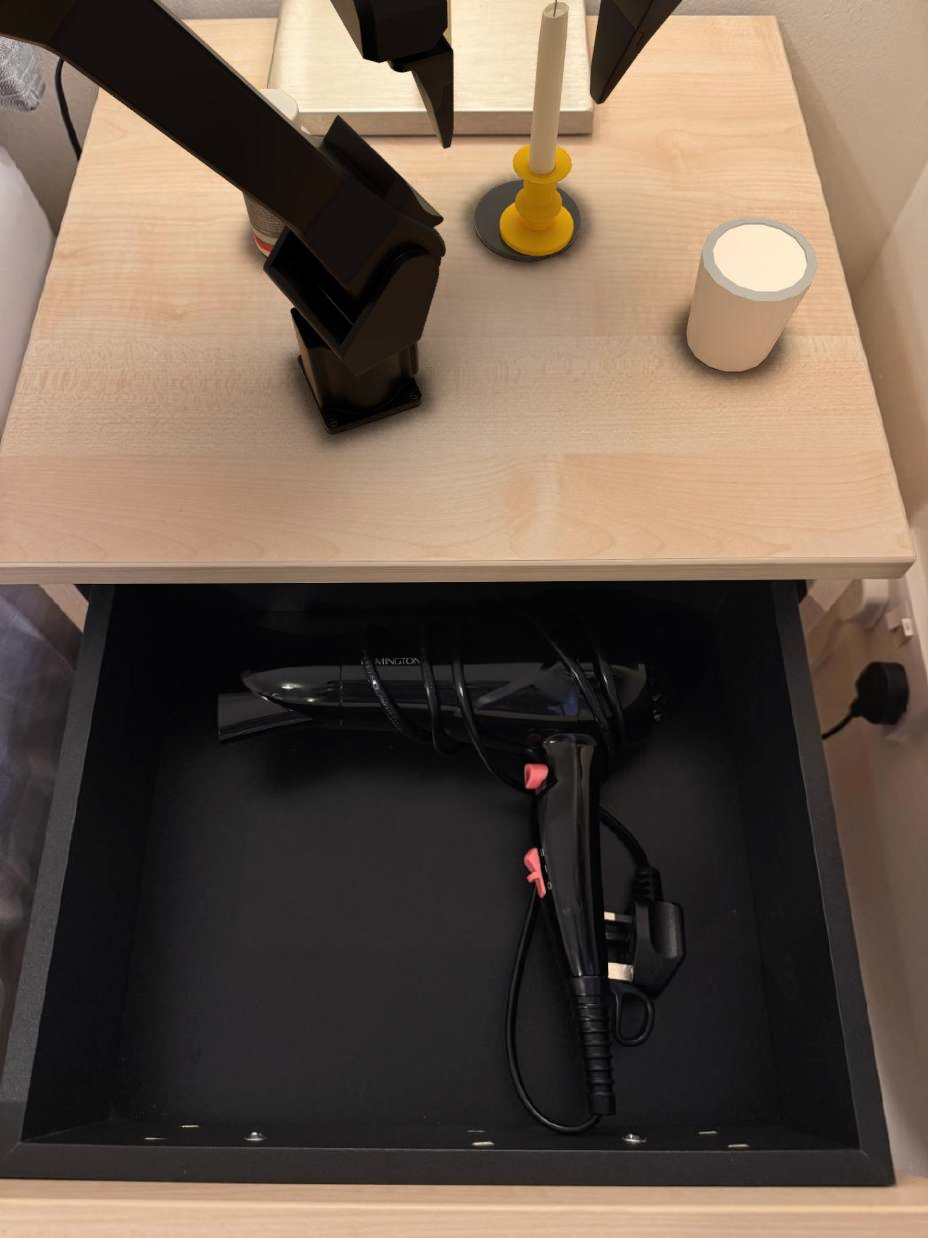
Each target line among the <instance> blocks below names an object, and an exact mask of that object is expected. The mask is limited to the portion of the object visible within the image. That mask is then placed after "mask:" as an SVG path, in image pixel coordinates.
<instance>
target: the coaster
mask: <svg viewBox="0 0 928 1238" xmlns="http://www.w3.org/2000/svg"><path fill="white" fill-rule="evenodd" d="M523 183H524V180H523V179H517V180H512V181H507V182H504V183H501V184H499V185H497V186H495V187H492V188H491V189H490V190H488V191H487V192H486V193H484V195H483V196H482V197H481V198H480V199H479V201H478V203H477V205H476V207H475V209H474V218H473V219H474V220H473V222H474V223H473V224H474V229H475V232H476V234H477V236H478V238H479V239H480V241H481V242H482V243H483V244H484V245H485V247H487V248H488V249H490V250H491V251H492V252H494V253H495V254H498V255H500V256H502V257H505V258H508V259H511V260H516V261H524V262H525V261H527V262H530V261H531V262H532V261H540V260H545V259H549V258H553V257H554V256H557V255H559V254H562V253H563V252H564V251H566V250H567V249H568V248H569V247H570V246H571V245H572V244H573V243H574V242H575V240H576V239H577V237H578V235H579V232H580V229H581V213H580V209H579V207H578V205H577V203H576V201H575V200H574V199H573V197H571V196H570V194H569V193H567V192H566V191H565V190H563V189H561V188H560V187H558V186H557V188H556V191H557V192H558V193H559V194H560V196H561V198H562V206H563V207H564V208H565V209H566V210H567V211H568V212H569V213H570V215H571V217H572V219H573V227H574V228H573V233H572V237H571V239H570V241H569V242H568V244H567V245H566V246H565V247H563V248H562V249H561V250H559V251H557V252H555V253H552V254H549V255H544V256H531V255H526V254H522V253H520V252H517V251H515V250H514V249H512V248H511V247H509V246H508V245H507V244H506V243H505V241H504V240H503V239H502V236H501V234H500V219H501V216H502V213H503V212H504V211H505V210H506V208H507V207H509V206H510V205H511V204H513V203H515V199H516V196H517V194H518V193H519V191H520V190H522V189H523V188H524V185H523Z"/></svg>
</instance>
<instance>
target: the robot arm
mask: <svg viewBox="0 0 928 1238" xmlns="http://www.w3.org/2000/svg"><path fill="white" fill-rule="evenodd" d="M329 1H330V3H331V5H332V7H333V8H334V10H335V12H336V14H337V16H338V17H339V19H340V20H341V23H342V24H343V26H344V28H345V30H346V31H347V33H348V35H349V36H350V38H351V40H352V42H353V44H354V45H355V47H356V49H357V51H358V53H359V54H360V56H361V58H362V60H365V61H369V62H372V63H376V64H382V63H385V62H386V63H387V65H388V66H389V69H391V70H392V71H394V72H396V73H400V74H404V73H405V74H406V73H408V72H410V73H411V76H412V78H413V79H414V83H415V85H416V87H417V91H418V93H419V95H420V99H421V100H422V103H423V105H424V107H425V110H426V113H427V115H428V118H429V120H430V123H431V125H432V128H433V130H434V133H435V135H436V138H437V140H438V142H439V144H440V145H441V147H442V148H443V149H444V150H445V149H449V148H451V147H452V142H453V136H454V130H455V97H454V96H455V95H454V94H455V82H454V81H455V78H454V77H455V55H454V54H455V51H454V49H453V47H452V45H451V44H450V42H449V41H448V40H447V38H446V37H445V34H444V33H445V32H446V31H447V29H448V27H449V16H448V15H449V12H448V7H449V6H448V0H329ZM682 2H683V0H600V2H599V3H600V4H599V10H598V16H597V23H596V30H595V36H594V42H593V49H592V56H591V62H590V76H589V95H590V97H591V98H592V100H593V102H594V103H595V104H596V105H602V104H604V103H605V102H606V101H607V100H608V98H609V97H610V95H611V94H612V92H613V91H614V89H615V88H616V87H617V85H618V84H619V82H620V81H622V78H623V77H624V76H625V74H626V73H627V71H628V70H629V68H630V67H631V66H632V65H633V63H634V62H635V60H636V59H637V57H638V56H639V55H640V53H641V52H642V51H643V50H644V48H645V46H647V44H648V43H649V41H650V40H651V39H652V38H653V36H655V34H656V33H657V32H658V31H659V30H660V28H661V27H662V26H663V24H665V22H666V21H667V20H668V18H670V16H671V15H672V14H673V13H674V11H675V10H676V9H677V7H679V5H680V4H681V3H682ZM0 37H1V38H4V39H9V40H12V41H15V42H21V43H23V44H28V45H32V46H36V47H38V48H41V49H44V50H46V51H47V52H49V53H51V54H53V55H55V56H56V57H58V58H60V59H61V60H63V62H65V63H66V64H68V65H69V66H71V68H73V69H75V70H76V71H77V72H79V73H80V74H81V75H83V76H84V77H86V78H87V79H88V80H90V81H91V82H92V83H94V84H95V85H97V86H98V87H99V88H100V89H101V90H103V91H105V92H106V93H107V94H109V95H110V96H111V97H113V98H114V99H115V100H116V101H118V102H120V103H121V104H122V105H124V106H125V107H126V108H128V110H130V111H132V112H133V113H135V114H136V115H137V116H138V117H139V118H141V119H142V120H144V121H145V122H147V123H148V124H149V125H151V126H152V127H153V128H154V129H156V130H158V131H159V132H160V133H161V134H163V135H164V136H165V137H167V138H168V139H170V140H171V141H172V142H173V143H175V144H176V145H178V146H179V147H181V148H182V149H183V150H184V151H186V152H188V154H189V155H192V156H193V157H194V158H195V159H197V160H198V161H199V162H201V163H202V164H203V165H205V166H206V167H208V168H209V169H211V171H213V172H215V173H216V174H217V175H219V177H221V178H222V179H223V180H225V181H227V182H228V183H229V184H231V185H232V186H233V187H235V188H236V189H237V190H238V191H240V192H241V193H242V192H243V193H244V194H246V195H247V196H248V197H250V198H251V199H252V200H254V201H255V202H256V203H258V204H259V205H261V206H262V207H263V208H265V209H266V210H267V211H269V212H270V213H271V214H273V215H274V216H275V217H277V218H278V219H279V220H281V221H282V222H284V223H285V226H284V228H283V230H282V232H281V234H280V236H279V237H278V239H277V241H276V243H275V245H274V247H273V248H272V250H271V252H270V254H269V256H268V257H266V260H265V261H264V264H263V265H262V270H263V272H264V273H265V275H266V276H267V277H268V278H269V279H270V280H271V282H272V283H273V284H274V285H275V286H276V287H277V288H278V290H279V291H280V292H281V293H282V294H283V295H284V296H285V297H286V299H287V300H288V301H289V302H290V303H291V304H292V305H293V307H292V308H290V310H289V312H290V317H291V321H292V325H293V328H294V332H295V336H296V341H297V345H298V348H299V352H300V354H299V355H298V356H297V363H298V366H299V369H300V372H301V374H302V376H303V379H304V380H305V383H306V386H307V389H308V391H309V393H310V395H311V398H312V399H313V402H314V404H315V406H316V409H317V411H318V413H319V417H320V419H321V421H322V423H323V425H324V428H325V429H326V431H327V432H328V433H330V434H335V433H339V432H342V431H345V430H348V429H350V428H353V427H357V426H360V425H363V424H366V423H369V422H371V421H374V420H377V419H380V418H384V417H387V416H389V415H392V414H396V413H398V412H401V411H404V410H408V409H410V408H413V407H416V406H418V405H420V404H421V403H422V402H423V394H422V393H423V392H422V391H421V389H420V387H419V385H418V383H417V381H416V379H415V377H414V376H416V375H418V374H419V372H420V361H419V346H418V342H419V341H420V340H421V339H422V337H423V333H424V330H425V326H426V323H427V321H428V316H429V314H430V309H431V306H432V303H433V299H434V296H435V293H436V289H437V286H438V282H439V278H440V267H441V263H442V258H444V257H445V256H446V253H447V247H446V241H445V240H444V238H443V236H442V235H441V234H440V232H439V230H437V229H436V227H437V226H439V225H441V224H442V223H443V222H444V219H445V218H444V217H443V215H441V213H439V211H438V210H437V209H435V207H434V206H433V205H431V204H430V202H428V200H426V198H424V197H423V196H422V195H421V194H420V192H419V191H417V190H416V189H415V188H414V187H413V186H412V185H411V184H410V182H408V181H407V180H406V179H405V178H404V177H403V176H402V175H401V174H400V173H399V172H398V171H397V170H396V169H395V168H394V167H393V166H392V165H391V164H390V163H389V162H388V161H387V160H386V159H385V158H384V157H383V156H382V155H381V154H380V153H379V152H378V151H377V150H376V149H375V148H373V147H372V146H371V145H370V144H369V142H367V141H366V140H365V139H364V138H363V137H362V136H361V135H360V134H359V133H358V132H357V131H356V130H355V129H354V128H353V127H352V126H351V125H350V124H349V123H348V122H347V121H346V120H345V119H344V118H343V117H342V116H341V115H340V114H337V115H336V116H335V118H334V119H333V122H332V123H331V125H330V126H329V128H328V130H327V131H326V134H325V135H324V137H322V136H317V135H312V134H311V135H309V134H307V133H306V132H304V131H302V130H301V129H300V128H299V127H297V126H296V125H295V124H294V123H293V122H292V121H291V120H290V119H289V118H288V117H287V116H285V115H284V114H283V113H282V112H281V111H280V110H279V109H278V108H277V107H276V106H275V105H273V104H272V103H271V102H270V101H269V100H268V99H267V98H266V97H265V96H264V95H263V94H261V93H260V92H259V91H258V89H257V88H256V87H255V86H254V85H253V84H252V83H250V81H249V80H247V79H246V78H245V77H244V76H243V75H242V74H241V73H240V72H239V71H238V70H236V68H234V66H232V65H231V64H230V63H229V62H228V61H227V60H226V59H225V58H224V57H223V56H222V55H220V54H219V53H218V52H217V51H216V50H215V49H214V48H212V47H211V46H210V44H208V43H207V42H206V41H205V40H204V39H202V38H201V36H200V35H198V33H196V32H195V31H194V30H193V29H192V28H191V27H189V25H188V24H187V23H185V22H184V21H183V20H182V19H181V18H180V17H179V16H178V15H177V14H175V12H173V10H171V9H170V8H169V7H168V6H167V5H166V4H165V3H163V1H161V0H0ZM243 193H242V194H243ZM413 397H414V398H413ZM332 424H334V425H332Z"/></svg>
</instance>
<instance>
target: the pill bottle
mask: <svg viewBox="0 0 928 1238" xmlns="http://www.w3.org/2000/svg"><path fill="white" fill-rule="evenodd" d="M257 90H258V91H259V92H260V93H261V94H263V95H264V96H265V97H266V98H267V99H268V100H269V101H270V102H271V103H272V104H273V105H275V106H276V107H277V108H278V109H279V110H280V111H281V112H282V113H283V114H284V115H285V116H287V117H288V118H289V119H290V120H291V121H292V122H293V123H294V124H295V125H296V126H297V127H299V128H300V129H301V130H302V131H304V132H306V133H307V134H309V135H312V134H311V132H309V130H307V128H306V127H304V126H303V123H302V119H301V113H300V109H299V105H298V102H297V100H296V99H295V98H294V96H292V95H291V94H290V93H288V92H286V91H284V90H281V89H277V88H259V89H257ZM241 193H242V197H243V200H244V201H243V202H244V204H245V208H246V212H247V216H248V219H249V223H250V224H249V225H250V228H251V233H252V236H253V238H254V241H255V244H256V246H257V248H258V250H259V251H260V252H261V253H262V254H263V255H264V256H266V258H268V256H269V254H270V252H271V250H272V248H273V247H274V245H275V243H276V241H277V239H278V237H279V236H280V234H281V232H282V230H283V228H284V226H285V223H284V222H282V221H281V220H279V219H278V218H277V217H275V216H274V215H273V214H271V213H270V212H269V211H267V210H266V209H265V208H263V207H262V206H261V205H259V204H258V203H256V202H255V201H254V200H252V199H251V198H250V197H248V196H247V195H246V194H244V193H243V192H242V191H241Z"/></svg>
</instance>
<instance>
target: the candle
mask: <svg viewBox="0 0 928 1238" xmlns="http://www.w3.org/2000/svg"><path fill="white" fill-rule="evenodd" d="M569 11H570V6H569V4H568V3H566V2H564V1H558V0H555V1H554V2H551V3H548V4H547V5H546V6H545V7H544V8H543V10H542V12H541V18H540V19H541V20H540V29H539V35H538V43H537V55H536V56H537V57H536V68H535V81H534V93H533V104H532V115H531V116H532V117H531V118H532V119H531V129H530V142H529V143H527V144H526V145H524V146H522V147H521V148H518V150H517V151H516V152H515V153H514V154H513V157H512V169H513V170H514V172H515V174H516V175H517V176H518V177H519V178H521V180H524V183H523V185H524V188H523V189H522V190H520V191H519V193H518V194H517V196H516V199H515V203H513V204H511V205H510V206H509V207H507V208H506V210H505V211H504V212H503V213H502V216H501V219H500V234H501V236H502V239H503V240H504V241H505V243H506V244H507V245H508V246H509V247H511V248H512V249H514V250H515V251H517V252H520V253H522V254H526V255H531V256H544V255H549V254H552V253H555V252H557V251H559V250H561V249H562V248H563V247H565V246H566V245H567V244H568V242H569V241H570V239H571V237H572V233H573V228H574V227H573V219H572V217H571V215H570V213H569V212H568V211H567V210H566V209H565V208H564V207H563V206H562V198H561V196H560V194H559V193H558V192H557V191H556V188H557V187H558V182H561V181H562V180H564V179H565V178H567V177H568V175H569V174H570V173H571V169H572V167H573V163H572V158H571V156H570V154H569V153H568V152H567V151H566V150H565V149H564V148H562V147H560V146H559V145H557V144H558V136H559V135H558V134H559V125H560V112H561V104H562V93H563V83H564V82H563V81H564V72H565V61H566V50H567V40H568V24H569Z"/></svg>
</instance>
